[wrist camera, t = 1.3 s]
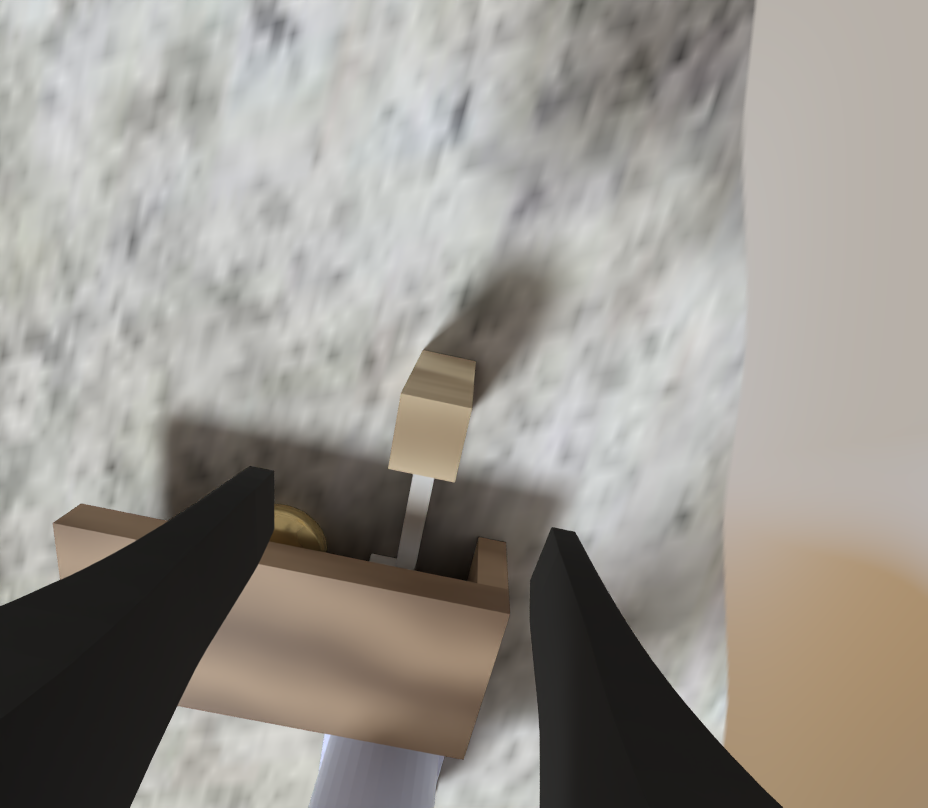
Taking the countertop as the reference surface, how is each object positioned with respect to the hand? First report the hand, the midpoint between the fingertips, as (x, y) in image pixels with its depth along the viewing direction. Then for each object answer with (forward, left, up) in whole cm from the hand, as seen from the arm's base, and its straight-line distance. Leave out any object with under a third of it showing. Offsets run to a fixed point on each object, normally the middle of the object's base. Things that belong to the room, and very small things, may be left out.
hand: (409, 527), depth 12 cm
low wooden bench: (-13, +5, -11) cm, 18 cm away
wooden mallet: (-5, 0, -11) cm, 12 cm away
